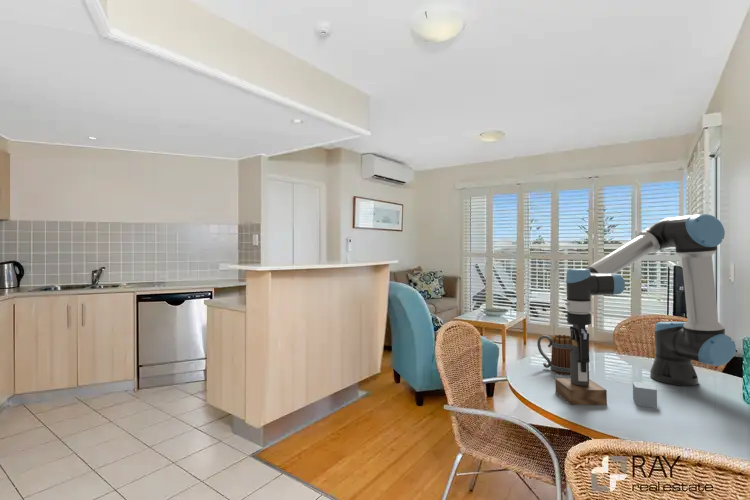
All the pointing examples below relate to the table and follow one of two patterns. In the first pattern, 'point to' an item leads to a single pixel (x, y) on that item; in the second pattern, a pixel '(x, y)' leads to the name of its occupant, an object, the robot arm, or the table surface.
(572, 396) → the walnut block
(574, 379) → the bottle
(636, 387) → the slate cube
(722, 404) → the table surface
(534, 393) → the table surface
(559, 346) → the mug
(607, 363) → the table surface
